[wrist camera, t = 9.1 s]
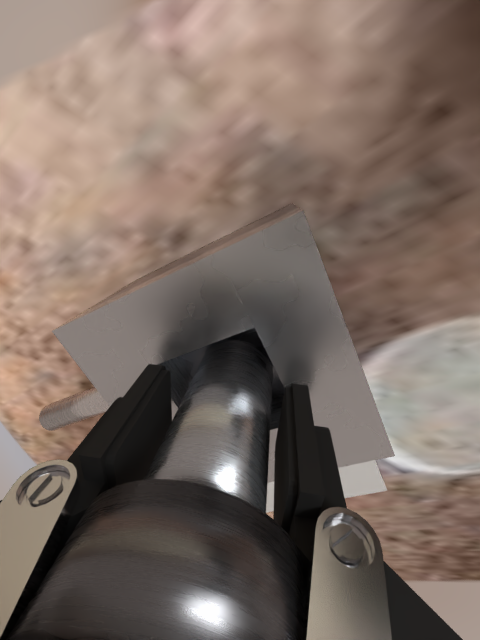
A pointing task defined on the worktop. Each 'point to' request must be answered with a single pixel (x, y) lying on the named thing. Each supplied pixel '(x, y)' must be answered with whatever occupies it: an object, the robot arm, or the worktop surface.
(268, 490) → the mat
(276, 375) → the block
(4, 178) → the worktop surface
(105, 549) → the dark gray knob
